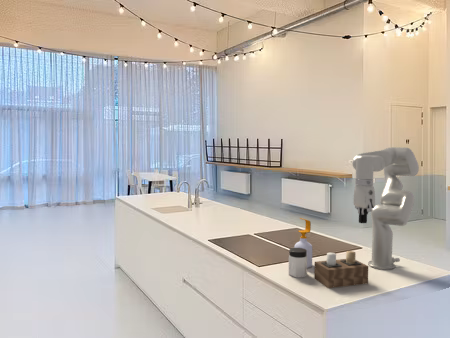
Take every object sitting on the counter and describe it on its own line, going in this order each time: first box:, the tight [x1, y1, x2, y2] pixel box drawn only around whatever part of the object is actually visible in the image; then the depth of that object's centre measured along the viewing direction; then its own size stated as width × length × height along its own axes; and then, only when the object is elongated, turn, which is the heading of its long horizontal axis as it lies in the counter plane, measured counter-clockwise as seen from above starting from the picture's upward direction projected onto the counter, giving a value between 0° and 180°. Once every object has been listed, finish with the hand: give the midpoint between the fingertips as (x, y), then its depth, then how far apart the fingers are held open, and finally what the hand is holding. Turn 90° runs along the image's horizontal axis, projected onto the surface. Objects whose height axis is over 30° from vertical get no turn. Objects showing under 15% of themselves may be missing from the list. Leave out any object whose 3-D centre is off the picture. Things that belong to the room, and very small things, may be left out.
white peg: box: [326, 252, 337, 266], centre depth 170 cm, size 4×4×8 cm
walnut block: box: [313, 258, 369, 289], centre depth 171 cm, size 20×12×8 cm, turn 106°
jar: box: [288, 247, 308, 278], centre depth 180 cm, size 9×8×12 cm
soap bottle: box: [293, 217, 313, 269], centre depth 193 cm, size 9×9×25 cm
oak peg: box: [345, 250, 357, 264], centre depth 172 cm, size 4×4×8 cm
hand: (362, 222), depth 172 cm, fingers closed
